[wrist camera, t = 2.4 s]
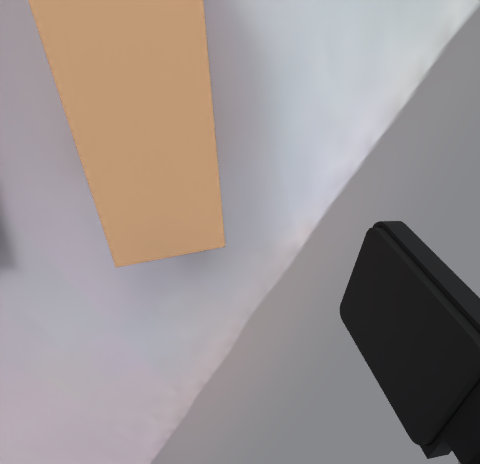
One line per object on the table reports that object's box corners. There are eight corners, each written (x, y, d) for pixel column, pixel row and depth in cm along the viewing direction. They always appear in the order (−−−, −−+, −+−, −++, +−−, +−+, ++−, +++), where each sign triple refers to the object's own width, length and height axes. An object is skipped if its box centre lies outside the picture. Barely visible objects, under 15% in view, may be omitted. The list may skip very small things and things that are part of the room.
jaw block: (44, -72, 16) (4, -74, 10) (170, -78, 16) (195, -84, 11) (116, 188, 23) (115, 267, 18) (201, 175, 24) (225, 246, 18)
